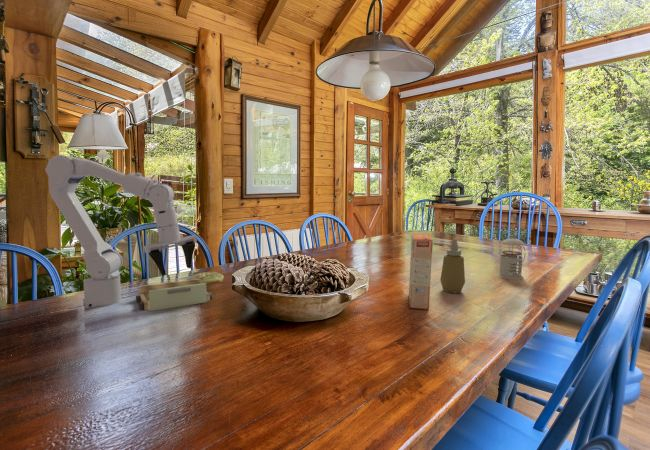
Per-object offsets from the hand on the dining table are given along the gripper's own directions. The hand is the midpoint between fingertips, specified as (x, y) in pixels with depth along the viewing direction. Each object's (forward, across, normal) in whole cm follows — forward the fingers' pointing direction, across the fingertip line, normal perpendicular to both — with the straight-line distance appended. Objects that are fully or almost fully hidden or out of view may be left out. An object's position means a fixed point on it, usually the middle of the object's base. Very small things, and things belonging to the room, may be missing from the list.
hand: (176, 271), depth 113 cm
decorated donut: (+11, +15, +17) cm, 26 cm away
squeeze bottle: (+24, +76, -42) cm, 90 cm away
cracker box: (+22, +57, -42) cm, 74 cm away
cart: (+10, -2, +2) cm, 10 cm away
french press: (+29, +113, -45) cm, 125 cm away
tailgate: (+9, -3, -5) cm, 10 cm away
